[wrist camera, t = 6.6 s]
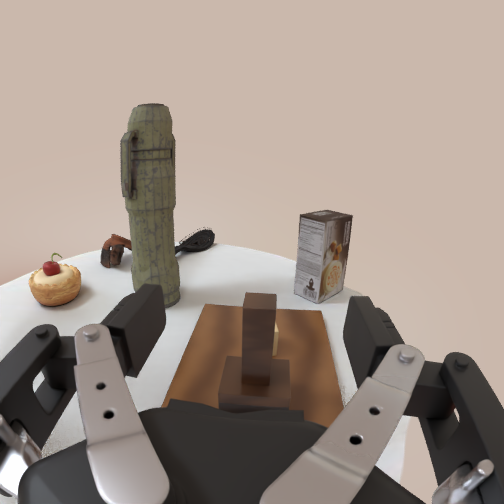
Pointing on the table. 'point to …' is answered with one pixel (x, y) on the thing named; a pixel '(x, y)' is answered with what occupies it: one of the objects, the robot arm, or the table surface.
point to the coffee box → (322, 254)
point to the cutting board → (289, 347)
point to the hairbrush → (197, 242)
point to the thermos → (151, 198)
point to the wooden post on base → (256, 363)
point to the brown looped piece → (114, 250)
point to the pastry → (55, 283)
